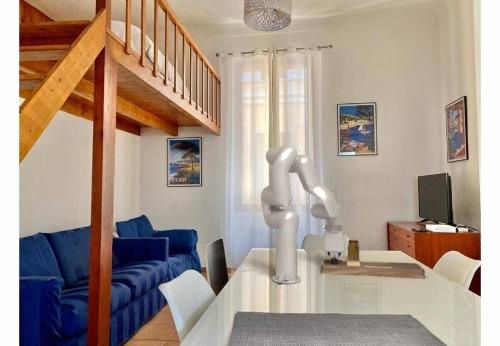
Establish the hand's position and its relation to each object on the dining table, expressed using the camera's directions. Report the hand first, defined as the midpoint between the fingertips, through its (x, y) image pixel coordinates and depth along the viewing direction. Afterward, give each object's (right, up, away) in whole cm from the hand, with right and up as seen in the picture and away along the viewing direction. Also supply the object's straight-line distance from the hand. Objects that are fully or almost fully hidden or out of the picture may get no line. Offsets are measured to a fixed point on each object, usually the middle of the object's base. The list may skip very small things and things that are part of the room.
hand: (334, 265), depth 184 cm
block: (+9, -3, -2) cm, 9 cm away
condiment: (+15, -3, +19) cm, 25 cm away
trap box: (+17, -3, -4) cm, 17 cm away
